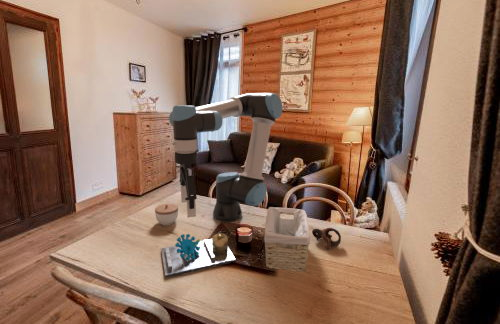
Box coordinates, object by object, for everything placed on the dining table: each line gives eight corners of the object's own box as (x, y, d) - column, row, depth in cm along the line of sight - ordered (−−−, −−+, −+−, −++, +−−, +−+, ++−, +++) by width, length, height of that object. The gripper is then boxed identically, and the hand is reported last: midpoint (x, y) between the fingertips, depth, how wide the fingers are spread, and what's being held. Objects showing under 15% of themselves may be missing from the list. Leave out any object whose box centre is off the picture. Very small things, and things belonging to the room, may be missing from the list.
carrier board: (222, 239, 108) (222, 223, 106) (235, 261, 93) (235, 244, 91) (161, 251, 98) (160, 234, 97) (165, 278, 83) (164, 258, 82)
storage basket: (308, 276, 86) (311, 237, 83) (261, 270, 89) (263, 233, 85) (303, 240, 109) (306, 208, 106) (266, 236, 112) (268, 205, 108)
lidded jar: (183, 221, 124) (182, 203, 122) (165, 230, 115) (164, 211, 113) (168, 215, 129) (167, 198, 127) (151, 223, 120) (149, 205, 118)
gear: (184, 262, 87) (172, 237, 90) (176, 269, 90) (164, 244, 93) (207, 252, 96) (195, 229, 99) (198, 258, 99) (187, 236, 102)
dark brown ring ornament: (336, 239, 111) (343, 229, 106) (334, 258, 105) (341, 248, 99) (310, 229, 113) (316, 219, 108) (306, 247, 107) (312, 237, 101)
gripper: (170, 145, 95) (173, 198, 100) (179, 159, 73) (182, 226, 77) (190, 145, 98) (192, 195, 103) (205, 158, 75) (206, 222, 80)
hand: (188, 208), depth 90 cm, fingers open, 13 cm apart
